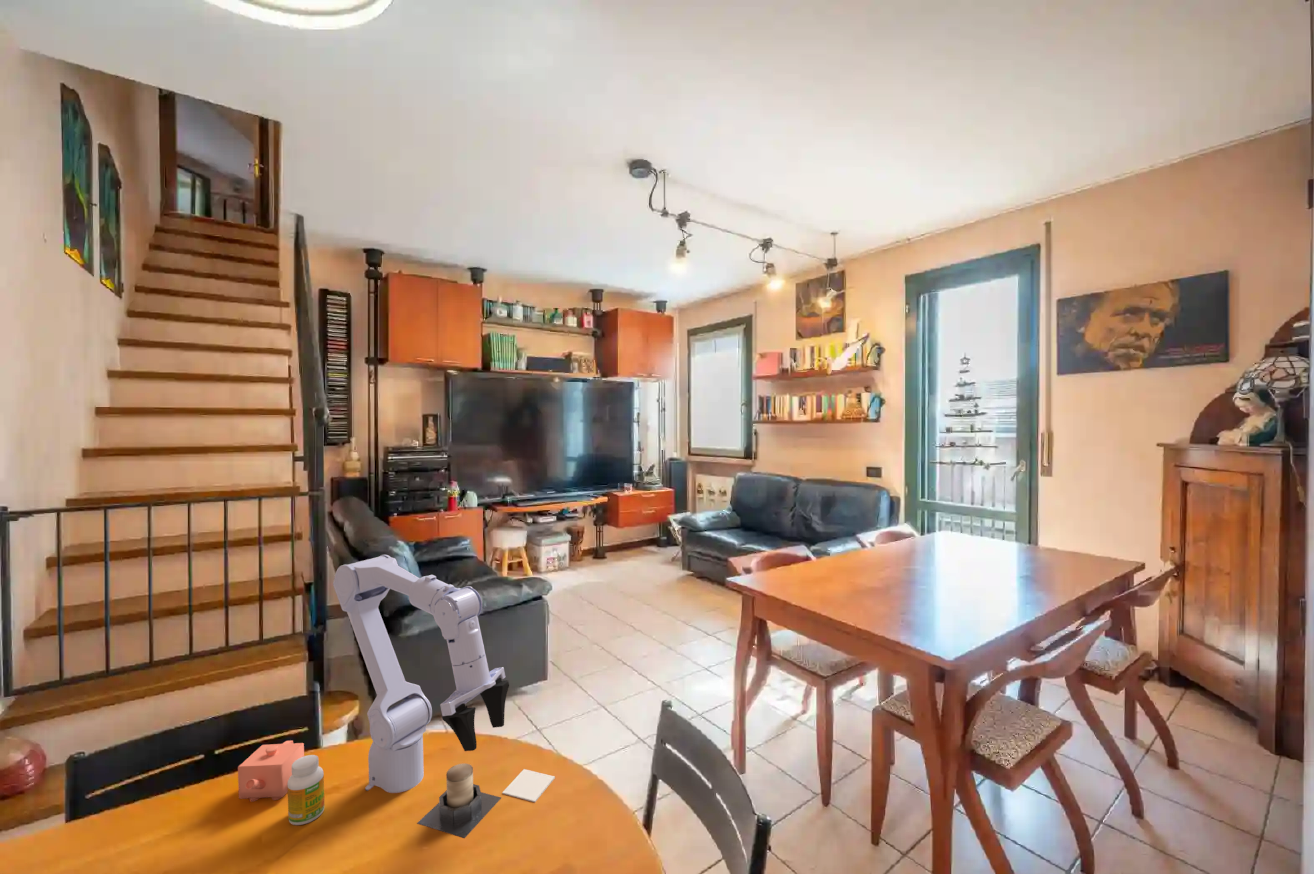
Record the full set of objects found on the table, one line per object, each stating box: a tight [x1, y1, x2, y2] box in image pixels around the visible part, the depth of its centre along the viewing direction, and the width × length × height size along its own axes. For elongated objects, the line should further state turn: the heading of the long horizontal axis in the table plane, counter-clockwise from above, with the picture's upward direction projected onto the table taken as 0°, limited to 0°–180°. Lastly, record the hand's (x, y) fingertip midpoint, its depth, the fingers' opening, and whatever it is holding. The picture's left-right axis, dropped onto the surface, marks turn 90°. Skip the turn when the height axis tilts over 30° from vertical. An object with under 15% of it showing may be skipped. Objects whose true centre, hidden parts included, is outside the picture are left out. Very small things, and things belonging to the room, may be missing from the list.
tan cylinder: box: [445, 763, 474, 809], centre depth 95 cm, size 4×4×7 cm
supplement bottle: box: [287, 754, 325, 826], centre depth 95 cm, size 5×5×10 cm
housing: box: [416, 783, 502, 839], centre depth 95 cm, size 10×10×3 cm
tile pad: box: [501, 768, 556, 803], centre depth 101 cm, size 7×7×1 cm
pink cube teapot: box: [237, 740, 305, 802], centre depth 101 cm, size 8×12×8 cm, turn 4°
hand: (485, 737), depth 93 cm, fingers open, 7 cm apart
